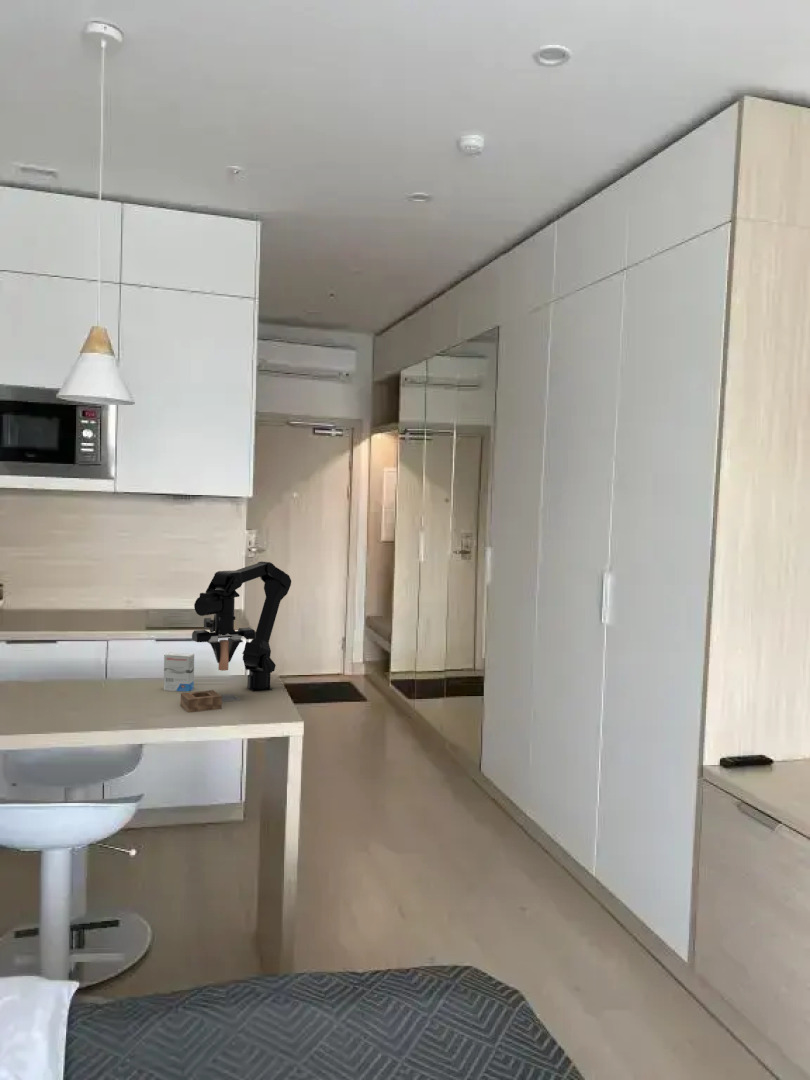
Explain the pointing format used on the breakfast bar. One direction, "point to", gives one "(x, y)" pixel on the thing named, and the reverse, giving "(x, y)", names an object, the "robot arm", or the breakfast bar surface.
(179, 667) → the ink box
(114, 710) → the breakfast bar surface
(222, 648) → the peg
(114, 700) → the breakfast bar surface
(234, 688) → the breakfast bar surface
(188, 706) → the hole block
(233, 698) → the mat
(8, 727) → the breakfast bar surface
